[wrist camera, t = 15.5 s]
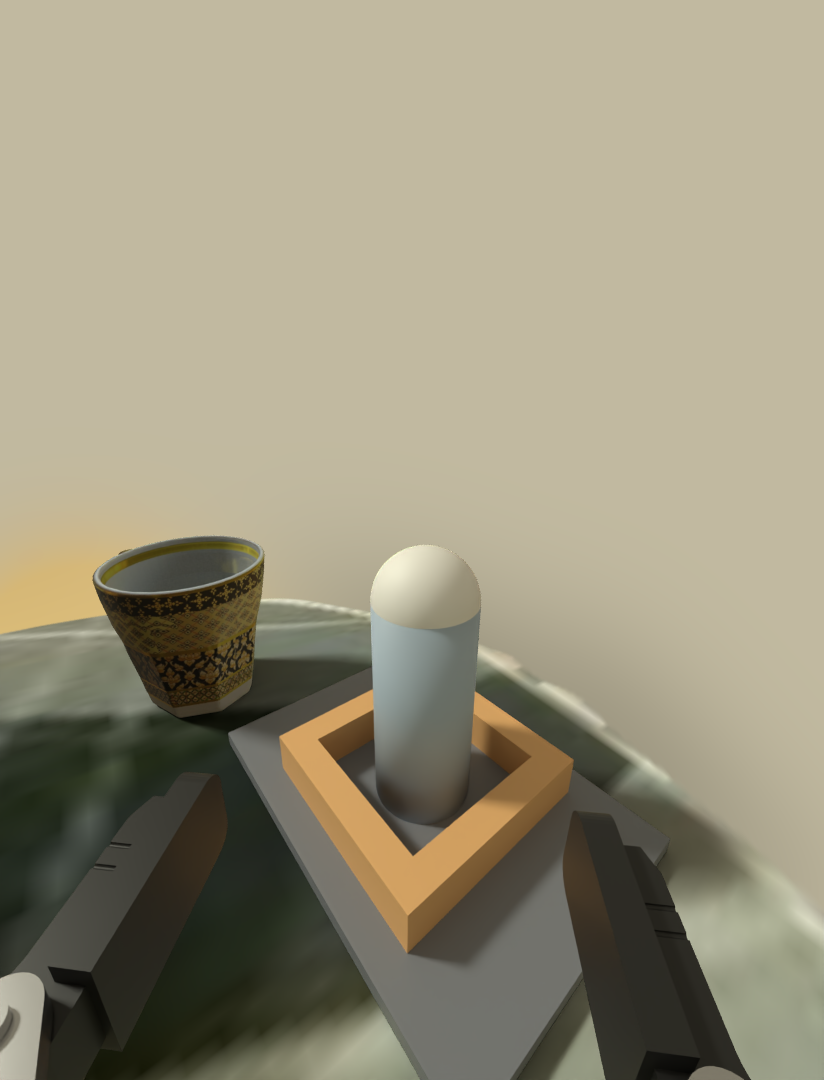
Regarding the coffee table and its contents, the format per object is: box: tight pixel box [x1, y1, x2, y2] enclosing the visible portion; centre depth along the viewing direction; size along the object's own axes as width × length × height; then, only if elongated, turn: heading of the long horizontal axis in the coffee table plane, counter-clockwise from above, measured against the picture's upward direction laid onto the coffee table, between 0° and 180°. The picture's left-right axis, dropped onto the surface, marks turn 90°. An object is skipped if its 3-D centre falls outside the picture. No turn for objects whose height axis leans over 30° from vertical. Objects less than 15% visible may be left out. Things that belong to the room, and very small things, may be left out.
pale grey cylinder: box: [370, 545, 481, 824], centre depth 21 cm, size 5×5×14 cm
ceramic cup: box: [93, 536, 264, 718], centre depth 31 cm, size 13×10×10 cm
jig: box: [228, 666, 670, 1080], centre depth 24 cm, size 20×14×3 cm
